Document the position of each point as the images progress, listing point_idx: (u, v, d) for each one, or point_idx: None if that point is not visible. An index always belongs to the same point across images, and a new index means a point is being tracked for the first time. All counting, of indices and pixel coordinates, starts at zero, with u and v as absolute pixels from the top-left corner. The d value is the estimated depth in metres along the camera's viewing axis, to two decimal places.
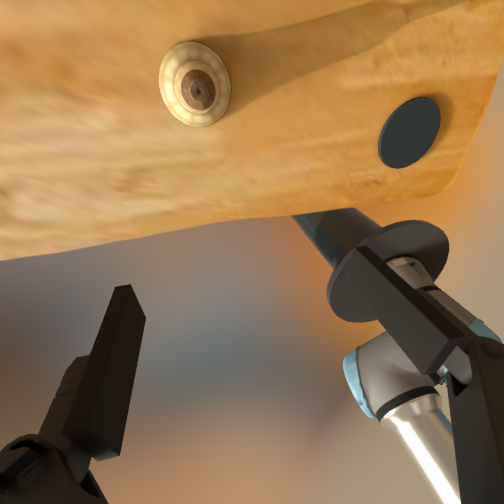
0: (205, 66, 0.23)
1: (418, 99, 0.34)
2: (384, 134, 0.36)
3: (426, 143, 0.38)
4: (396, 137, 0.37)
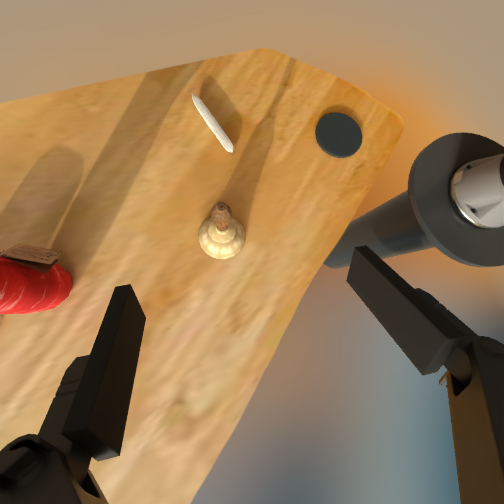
0: None
1: (319, 122, 0.49)
2: (326, 148, 0.48)
3: (352, 125, 0.50)
4: (334, 142, 0.49)
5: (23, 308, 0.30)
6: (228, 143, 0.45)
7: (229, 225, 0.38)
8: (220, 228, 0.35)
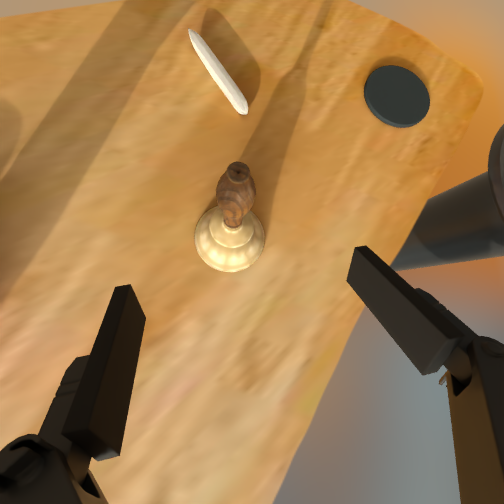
0: None
1: (369, 77, 0.34)
2: (381, 113, 0.34)
3: (416, 83, 0.35)
4: (391, 105, 0.34)
5: None
6: (241, 100, 0.30)
7: (244, 219, 0.23)
8: (230, 223, 0.20)
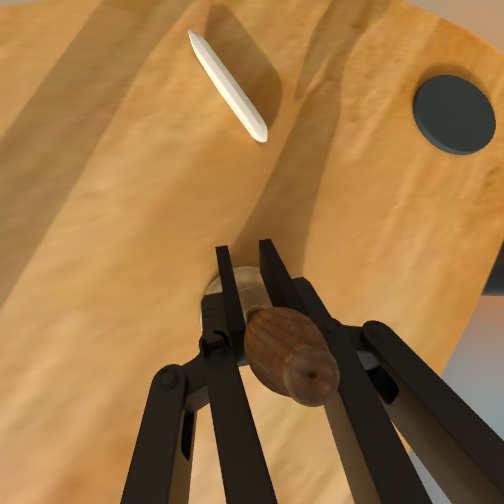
0: (243, 290, 0.16)
1: (420, 91, 0.27)
2: (437, 138, 0.26)
3: (477, 98, 0.28)
4: (448, 126, 0.27)
5: None
6: (259, 123, 0.23)
7: None
8: None
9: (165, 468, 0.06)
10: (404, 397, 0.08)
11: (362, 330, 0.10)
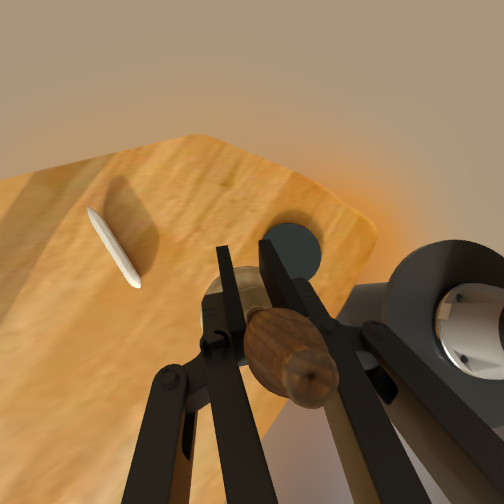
0: (244, 290, 0.16)
1: (264, 238, 0.37)
2: None
3: (309, 240, 0.38)
4: None
5: None
6: (132, 278, 0.33)
7: None
8: None
9: (166, 468, 0.06)
10: (403, 397, 0.08)
11: (361, 330, 0.10)
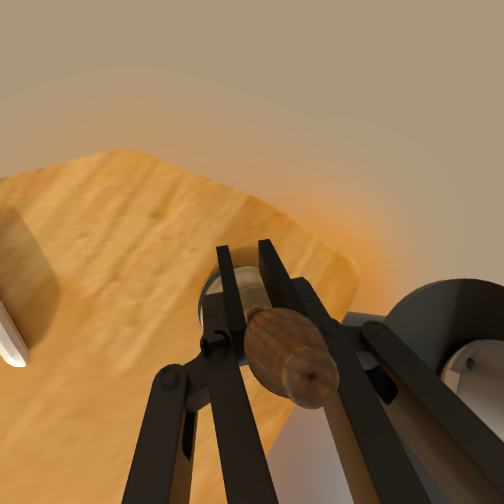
0: (246, 290, 0.16)
1: (205, 288, 0.28)
2: None
3: None
4: None
5: None
6: (11, 355, 0.24)
7: None
8: None
9: (166, 467, 0.07)
10: (403, 397, 0.08)
11: (361, 330, 0.10)
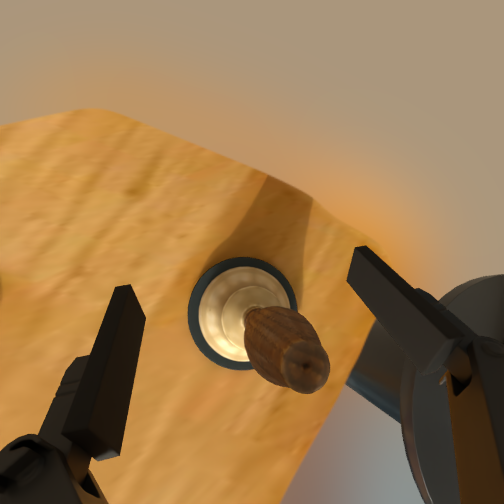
0: (243, 289, 0.17)
1: (196, 286, 0.21)
2: (208, 354, 0.21)
3: None
4: None
5: None
6: None
7: None
8: None
9: None
10: None
11: None
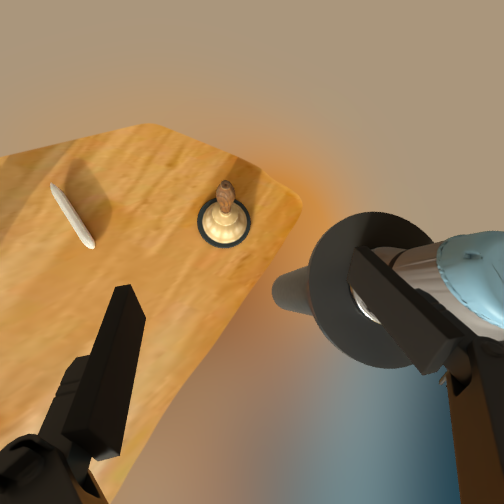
0: None
1: (201, 209, 0.45)
2: (207, 239, 0.44)
3: None
4: None
5: None
6: (87, 240, 0.40)
7: (232, 209, 0.39)
8: (223, 210, 0.36)
9: None
10: None
11: None
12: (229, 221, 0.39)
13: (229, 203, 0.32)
